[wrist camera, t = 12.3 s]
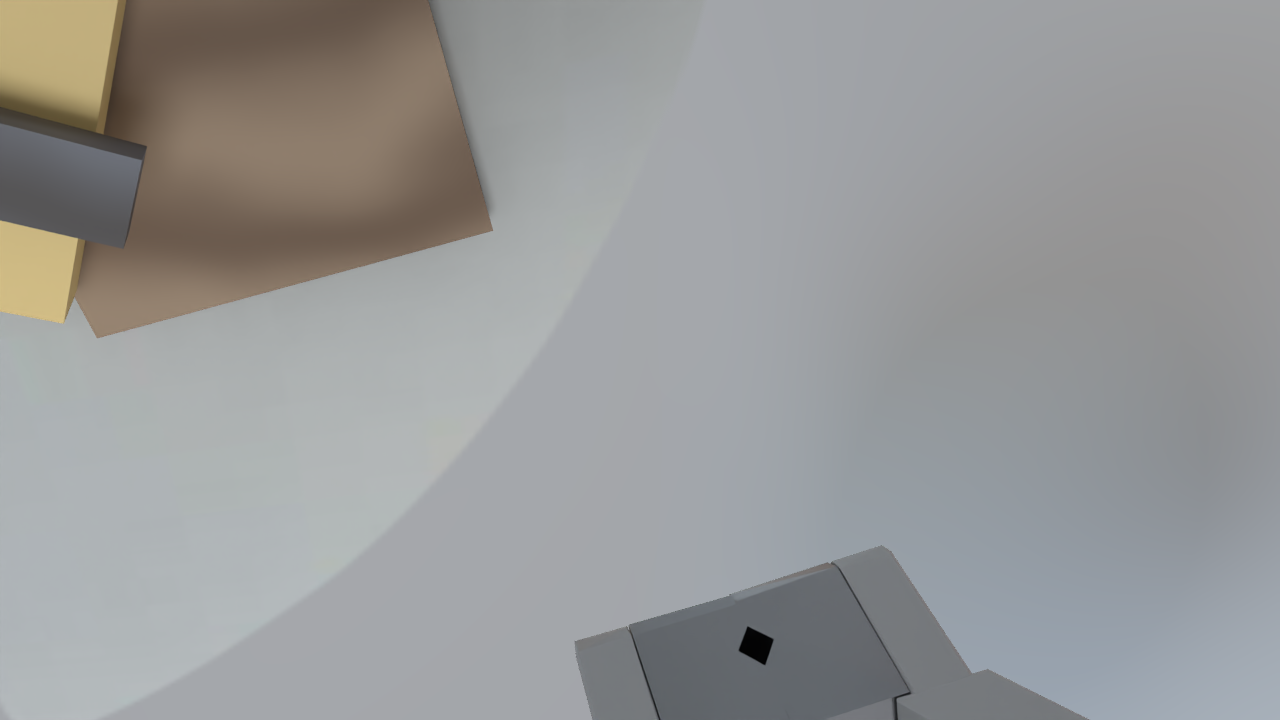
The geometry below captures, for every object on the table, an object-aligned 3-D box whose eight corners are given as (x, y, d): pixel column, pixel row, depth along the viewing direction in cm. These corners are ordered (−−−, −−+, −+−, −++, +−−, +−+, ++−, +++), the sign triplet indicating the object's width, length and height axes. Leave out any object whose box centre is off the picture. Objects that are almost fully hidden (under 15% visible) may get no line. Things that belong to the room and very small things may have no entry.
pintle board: (-272, -271, 30) (-405, -259, 25) (316, -393, 32) (316, -407, 27) (65, 328, 42) (25, 431, 36) (488, 214, 43) (513, 295, 38)
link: (33, -303, 30) (13, -302, 28) (187, -244, 32) (179, -238, 30) (-36, 267, 38) (-56, 300, 36) (92, 293, 39) (79, 326, 37)
